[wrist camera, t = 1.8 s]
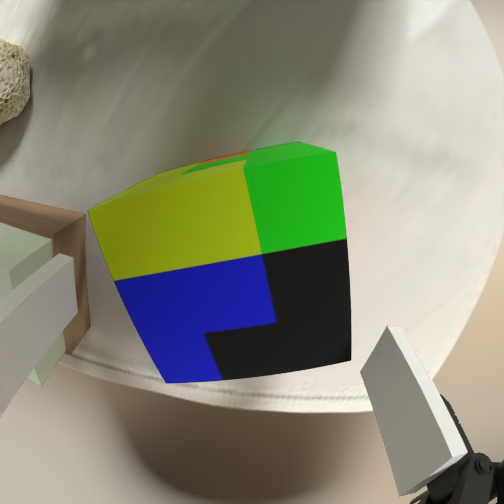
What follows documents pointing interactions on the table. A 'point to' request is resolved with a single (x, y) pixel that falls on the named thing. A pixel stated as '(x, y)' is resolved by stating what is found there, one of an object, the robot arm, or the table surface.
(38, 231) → the walnut slab
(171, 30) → the table surface
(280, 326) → the puzzle toy
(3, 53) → the decorative item
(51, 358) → the sage slab
